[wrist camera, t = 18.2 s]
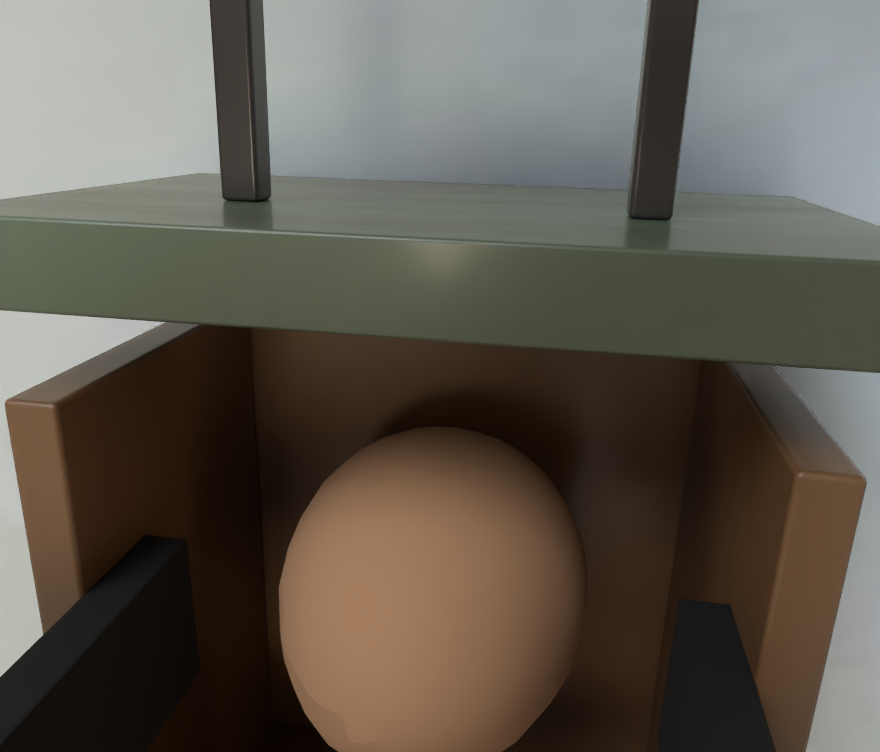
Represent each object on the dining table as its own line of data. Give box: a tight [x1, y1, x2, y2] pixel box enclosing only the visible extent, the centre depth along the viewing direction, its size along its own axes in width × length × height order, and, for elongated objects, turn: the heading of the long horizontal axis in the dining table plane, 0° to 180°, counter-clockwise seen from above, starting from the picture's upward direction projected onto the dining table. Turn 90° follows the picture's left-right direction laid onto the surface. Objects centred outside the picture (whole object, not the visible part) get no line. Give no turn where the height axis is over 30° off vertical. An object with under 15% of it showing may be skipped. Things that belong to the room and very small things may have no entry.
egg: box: [279, 426, 588, 752], centre depth 14 cm, size 5×5×7 cm
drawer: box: [0, 0, 880, 752], centre depth 14 cm, size 20×12×8 cm, turn 178°
